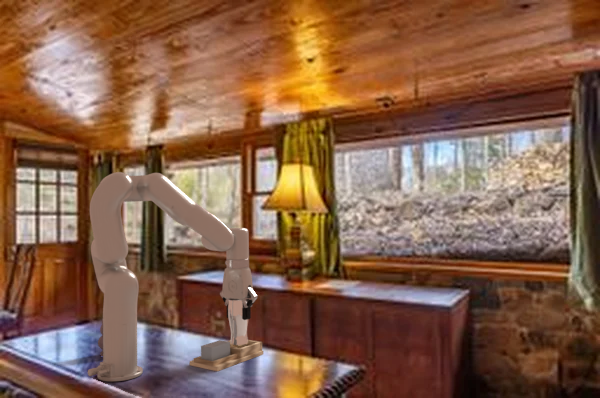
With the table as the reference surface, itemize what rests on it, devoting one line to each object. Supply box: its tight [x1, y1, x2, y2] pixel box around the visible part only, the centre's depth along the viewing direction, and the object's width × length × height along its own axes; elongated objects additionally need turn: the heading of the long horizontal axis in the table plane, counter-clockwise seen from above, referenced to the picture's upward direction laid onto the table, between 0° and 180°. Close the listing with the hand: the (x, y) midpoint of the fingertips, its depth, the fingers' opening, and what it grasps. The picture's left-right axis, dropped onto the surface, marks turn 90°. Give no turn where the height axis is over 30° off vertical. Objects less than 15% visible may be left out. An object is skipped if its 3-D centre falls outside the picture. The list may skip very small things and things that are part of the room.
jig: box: [189, 339, 264, 372], centre depth 164 cm, size 22×12×4 cm, turn 145°
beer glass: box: [228, 299, 249, 346], centre depth 169 cm, size 7×7×15 cm
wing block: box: [200, 339, 230, 361], centre depth 159 cm, size 8×4×5 cm, turn 147°
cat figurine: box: [97, 318, 103, 356], centre depth 171 cm, size 8×8×12 cm
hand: (238, 317), depth 169 cm, fingers closed on beer glass, 6 cm apart
